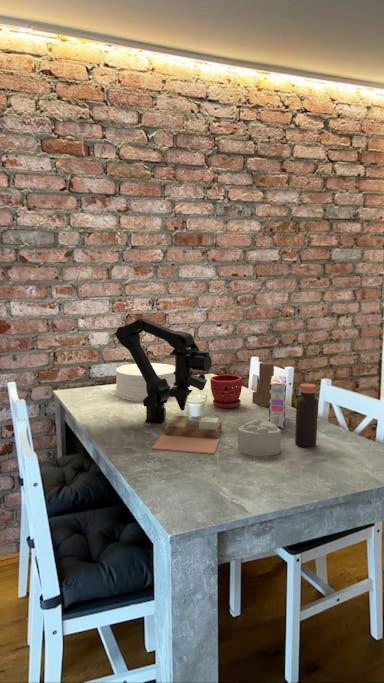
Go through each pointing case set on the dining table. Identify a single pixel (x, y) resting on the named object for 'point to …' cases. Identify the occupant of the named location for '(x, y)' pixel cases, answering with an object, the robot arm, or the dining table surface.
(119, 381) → the plate stack
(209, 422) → the sage tile
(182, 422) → the maple tile
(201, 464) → the dining table surface
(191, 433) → the walnut board
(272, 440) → the lumpy-topped squat cylinder
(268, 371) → the wooden block
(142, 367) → the robot arm
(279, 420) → the candy box
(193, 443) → the terracotta mat
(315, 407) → the bottle
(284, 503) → the dining table surface
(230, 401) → the plant pot
